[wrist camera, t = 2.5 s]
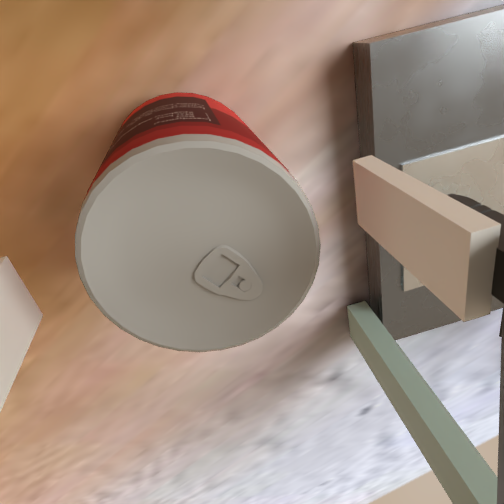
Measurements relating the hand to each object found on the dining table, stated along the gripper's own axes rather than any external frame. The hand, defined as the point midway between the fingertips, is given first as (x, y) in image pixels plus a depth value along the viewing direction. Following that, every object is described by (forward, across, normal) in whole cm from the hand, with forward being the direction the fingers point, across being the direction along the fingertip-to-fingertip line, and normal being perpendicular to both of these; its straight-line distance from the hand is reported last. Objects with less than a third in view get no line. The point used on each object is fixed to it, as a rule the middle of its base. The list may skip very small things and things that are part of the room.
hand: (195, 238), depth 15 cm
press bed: (+8, +16, -6) cm, 19 cm away
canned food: (+9, 0, 0) cm, 9 cm away
